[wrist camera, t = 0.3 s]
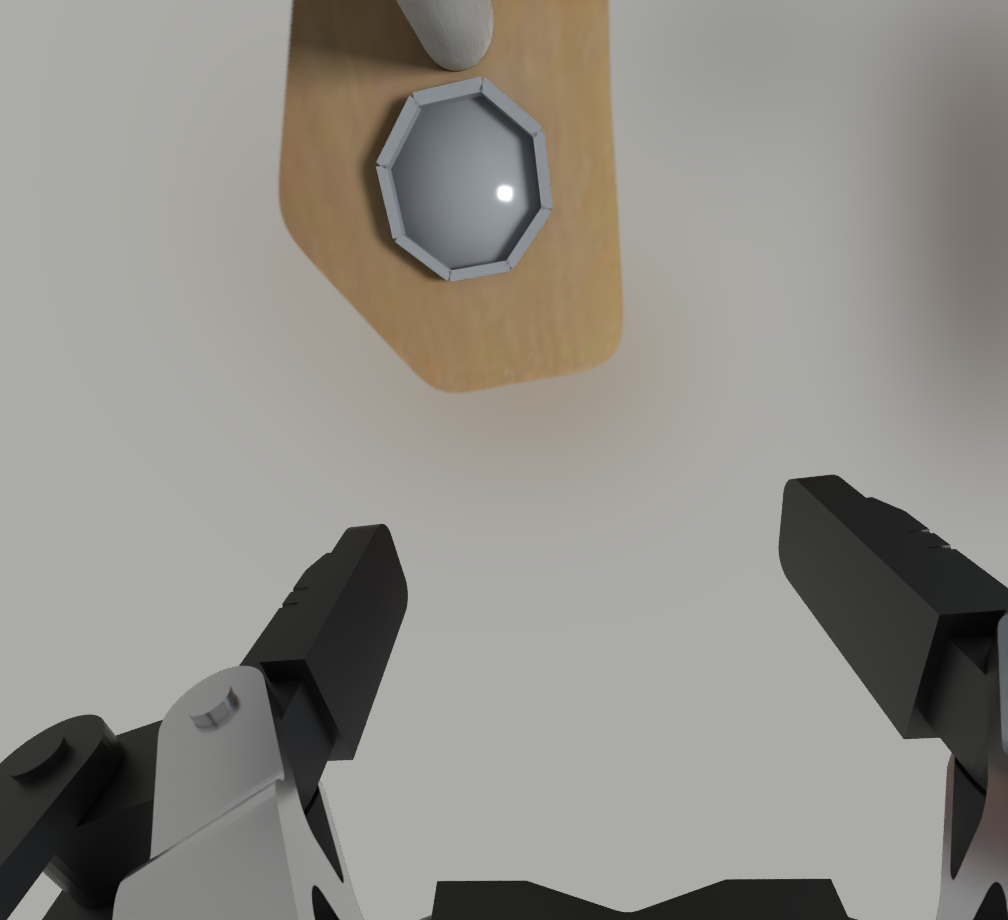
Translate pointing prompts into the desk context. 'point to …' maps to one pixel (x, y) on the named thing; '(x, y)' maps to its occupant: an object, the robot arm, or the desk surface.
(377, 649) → the robot arm
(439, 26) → the planter
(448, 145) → the saucer
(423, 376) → the desk surface
